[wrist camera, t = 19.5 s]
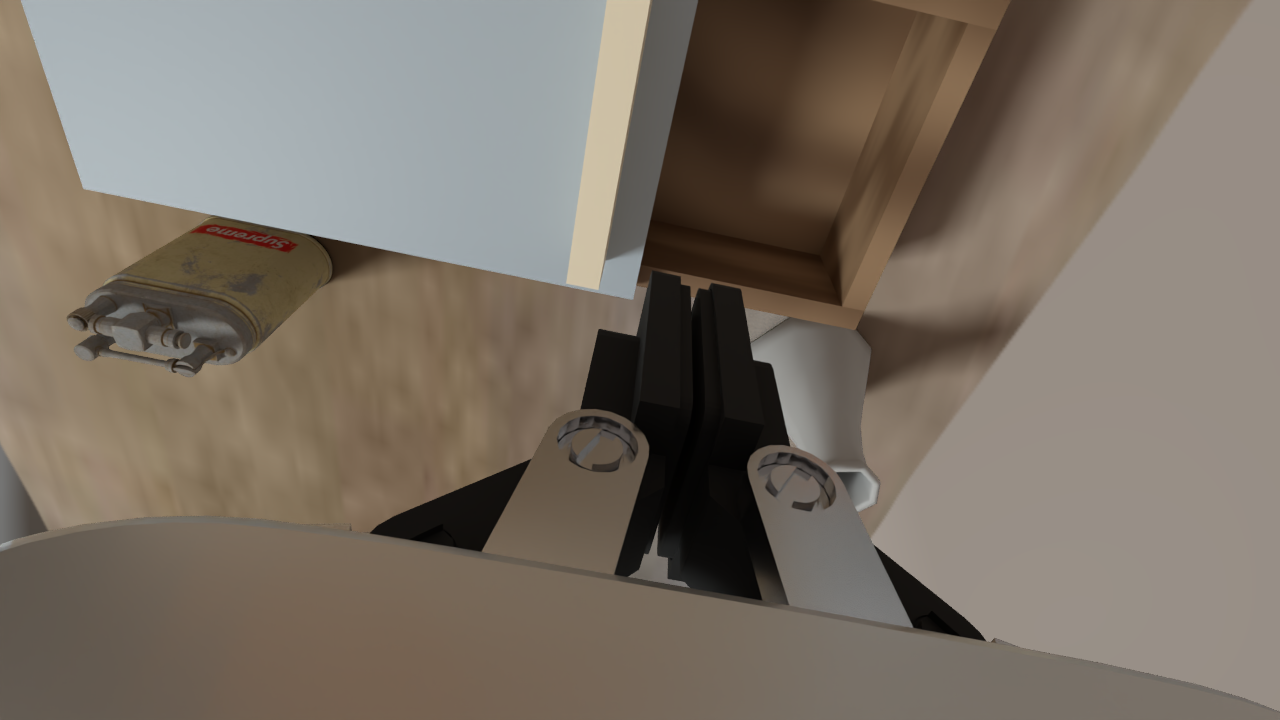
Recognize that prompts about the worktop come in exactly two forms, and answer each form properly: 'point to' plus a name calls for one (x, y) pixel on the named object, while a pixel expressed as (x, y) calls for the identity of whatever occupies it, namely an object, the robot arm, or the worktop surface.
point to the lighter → (203, 296)
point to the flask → (823, 396)
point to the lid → (384, 120)
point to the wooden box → (808, 144)
